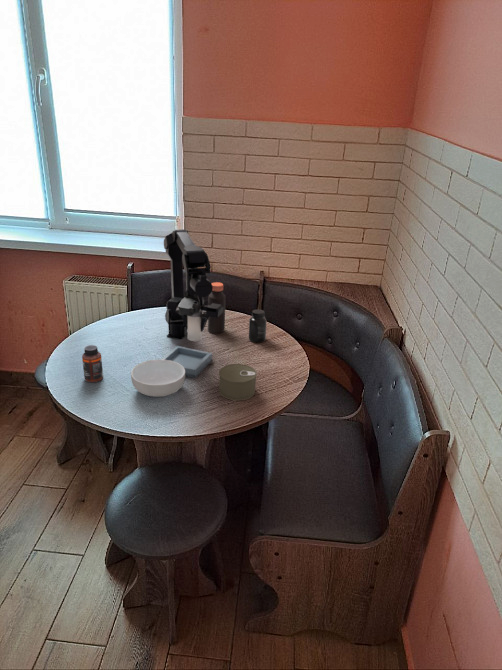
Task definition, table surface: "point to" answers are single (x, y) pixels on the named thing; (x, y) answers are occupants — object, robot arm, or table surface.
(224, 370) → the can
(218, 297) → the vinegar
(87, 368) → the supplement bottle
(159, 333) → the table surface
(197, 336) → the shaker
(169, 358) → the tray
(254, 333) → the supplement bottle
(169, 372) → the cereal bowl
